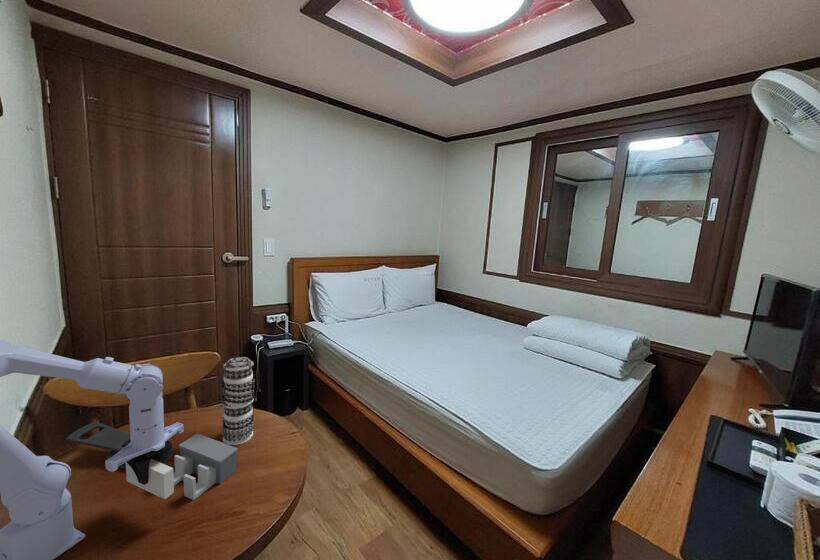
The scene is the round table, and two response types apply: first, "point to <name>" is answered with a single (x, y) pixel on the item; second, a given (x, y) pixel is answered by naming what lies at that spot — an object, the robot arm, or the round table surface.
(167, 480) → the door panel
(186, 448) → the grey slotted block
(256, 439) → the round table surface
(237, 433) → the decorative candle
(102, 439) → the zipper pull
